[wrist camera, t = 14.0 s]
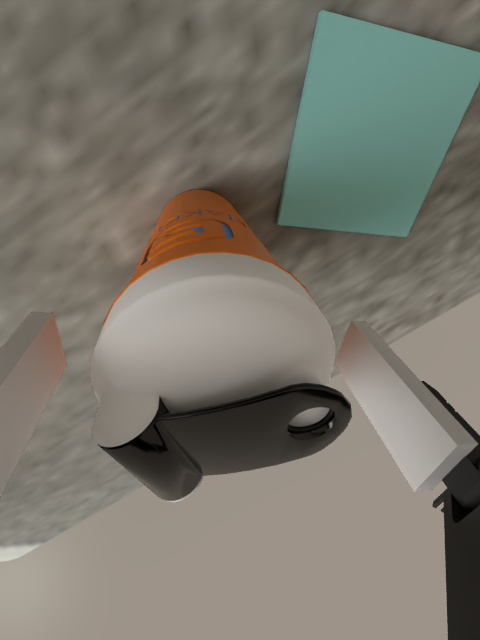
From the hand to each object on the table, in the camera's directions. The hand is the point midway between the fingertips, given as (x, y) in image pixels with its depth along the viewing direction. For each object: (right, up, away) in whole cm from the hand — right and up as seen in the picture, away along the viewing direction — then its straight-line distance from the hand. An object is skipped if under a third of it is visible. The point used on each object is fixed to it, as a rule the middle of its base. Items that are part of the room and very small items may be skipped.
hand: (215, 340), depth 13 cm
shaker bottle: (-2, +9, +12) cm, 15 cm away
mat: (+12, +15, +10) cm, 21 cm away
